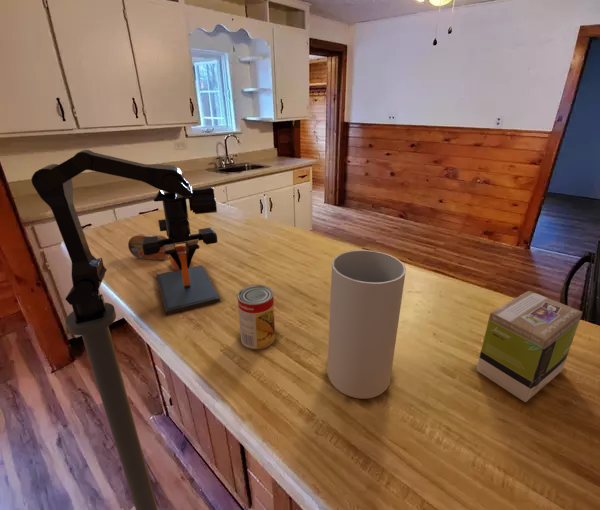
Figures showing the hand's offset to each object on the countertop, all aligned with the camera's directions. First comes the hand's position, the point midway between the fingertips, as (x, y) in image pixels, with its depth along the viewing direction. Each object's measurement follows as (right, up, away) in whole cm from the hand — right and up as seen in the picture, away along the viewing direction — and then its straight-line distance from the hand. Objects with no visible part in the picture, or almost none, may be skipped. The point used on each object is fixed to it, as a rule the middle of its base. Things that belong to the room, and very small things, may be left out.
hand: (184, 268), depth 93 cm
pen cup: (-7, -1, +18) cm, 20 cm away
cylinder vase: (+44, -20, -26) cm, 55 cm away
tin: (-19, +2, +24) cm, 31 cm away
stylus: (0, -6, +2) cm, 6 cm away
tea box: (+77, -19, -24) cm, 83 cm away
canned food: (+22, -15, -15) cm, 31 cm away
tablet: (-1, -6, +5) cm, 8 cm away
